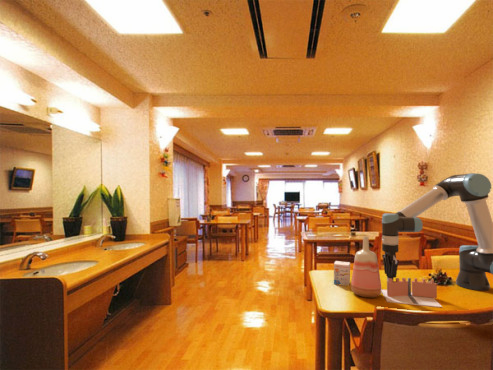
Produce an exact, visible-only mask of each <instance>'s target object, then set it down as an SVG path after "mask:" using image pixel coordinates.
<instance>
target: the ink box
mask: <svg viewBox="0 0 493 370" xmlns="http://www.w3.org/2000/svg"><path fill="white" fill-rule="evenodd" d="M333 284H334V285H337V284H341V285H340V286H346V285H349V284H350V285H351V262H349V261H340V260H335V261H334V262H333ZM350 285H349V286H350Z"/></svg>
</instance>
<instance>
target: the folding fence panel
mask: <svg viewBox="0 0 493 370" xmlns="http://www.w3.org/2000/svg"><path fill="white" fill-rule="evenodd" d="M406 279H407V278H405V277H402V279H401V280H400V278H398V277H396V278H395V281H394V278H393V279H392V278H389V282H387V281H386V290H387V296H389V297H391V296H408V280H406Z"/></svg>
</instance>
